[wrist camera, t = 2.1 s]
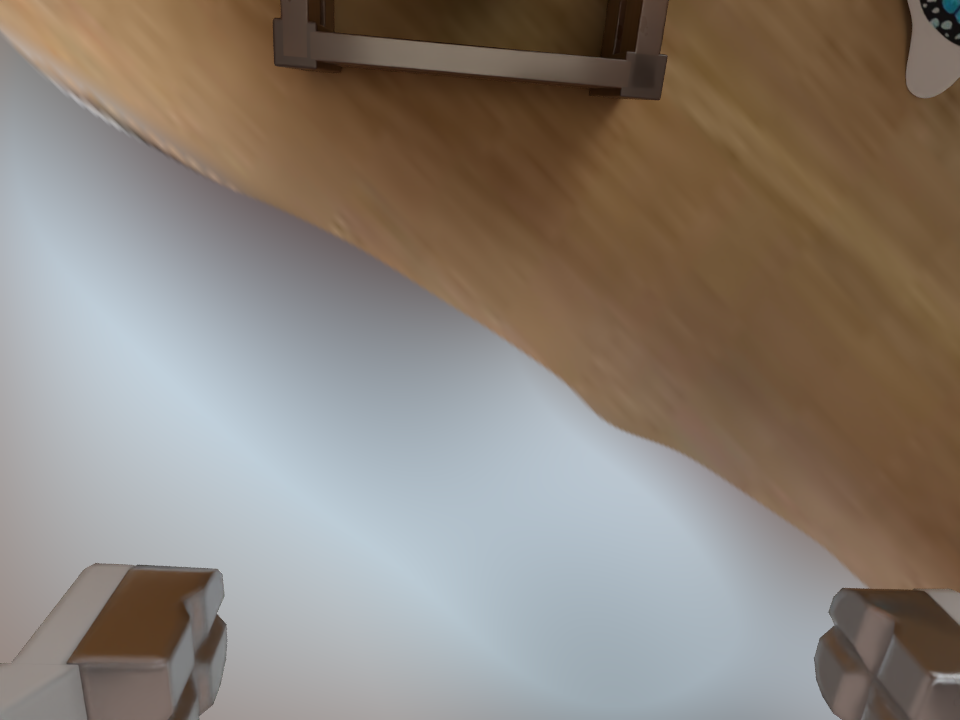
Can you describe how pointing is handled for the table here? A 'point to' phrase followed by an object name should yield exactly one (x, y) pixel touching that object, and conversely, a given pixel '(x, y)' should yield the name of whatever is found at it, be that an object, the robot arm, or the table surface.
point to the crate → (485, 52)
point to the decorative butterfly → (933, 46)
